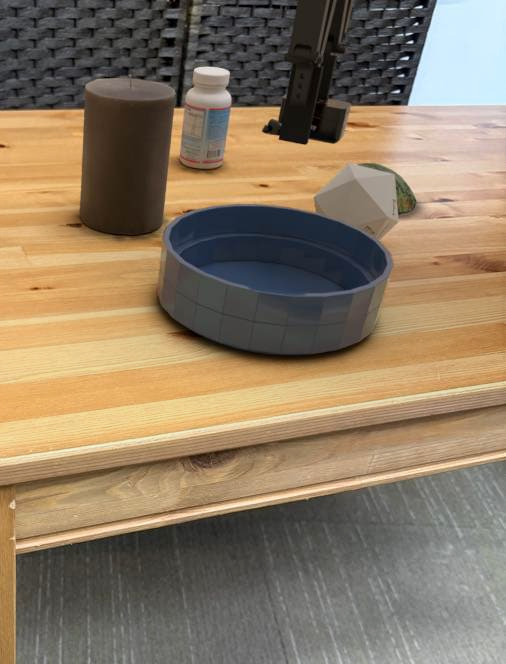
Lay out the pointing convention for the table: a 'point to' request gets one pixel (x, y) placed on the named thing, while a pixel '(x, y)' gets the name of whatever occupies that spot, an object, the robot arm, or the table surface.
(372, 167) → the seashell
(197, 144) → the pill bottle
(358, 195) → the die
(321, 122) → the wireless earbuds
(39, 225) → the table surface
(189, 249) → the bowl
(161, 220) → the pillar candle
